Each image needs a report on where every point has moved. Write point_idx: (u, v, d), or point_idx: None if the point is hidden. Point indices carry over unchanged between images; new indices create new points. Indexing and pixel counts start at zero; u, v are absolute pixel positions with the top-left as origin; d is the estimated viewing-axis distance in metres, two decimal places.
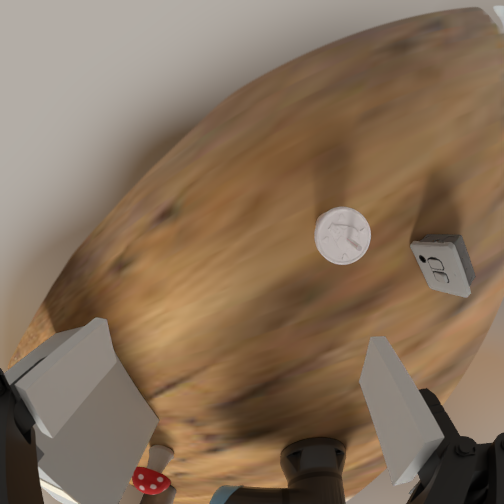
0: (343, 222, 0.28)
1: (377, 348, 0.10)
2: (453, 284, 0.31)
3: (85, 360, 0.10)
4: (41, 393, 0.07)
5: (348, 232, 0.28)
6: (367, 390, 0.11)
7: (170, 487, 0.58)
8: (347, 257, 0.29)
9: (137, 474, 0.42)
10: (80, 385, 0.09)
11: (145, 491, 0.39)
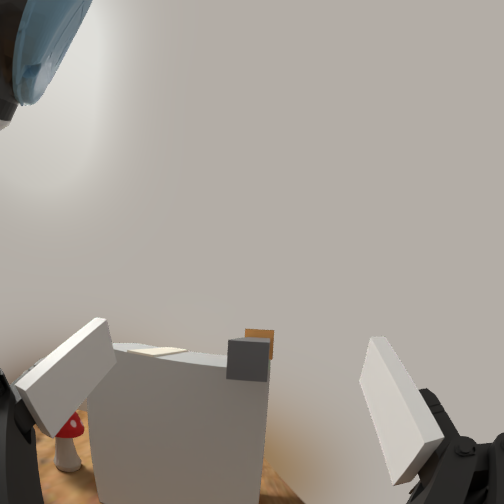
0: None
1: (377, 348, 0.10)
2: None
3: (85, 359, 0.10)
4: (41, 393, 0.07)
5: None
6: (367, 390, 0.11)
7: None
8: None
9: (77, 425, 0.35)
10: (80, 385, 0.09)
11: None
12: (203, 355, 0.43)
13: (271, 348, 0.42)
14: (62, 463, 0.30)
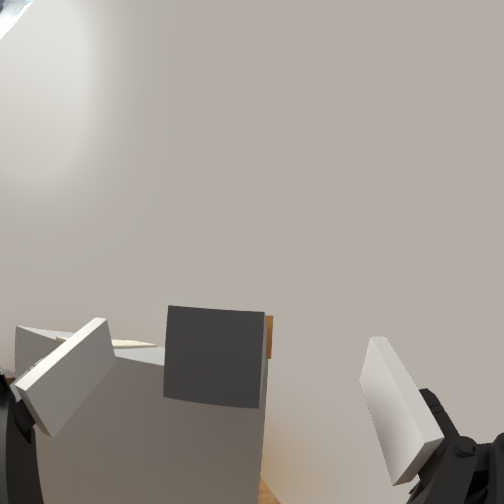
0: None
1: (377, 348, 0.10)
2: None
3: (85, 359, 0.10)
4: (41, 393, 0.07)
5: None
6: (367, 390, 0.11)
7: None
8: None
9: None
10: (80, 385, 0.09)
11: None
12: None
13: (269, 342, 0.29)
14: None
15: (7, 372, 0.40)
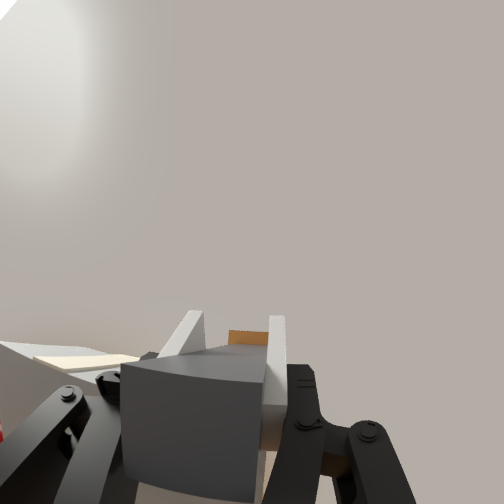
0: None
1: (270, 324, 0.13)
2: None
3: None
4: None
5: None
6: None
7: None
8: None
9: None
10: None
11: None
12: None
13: None
14: None
15: None
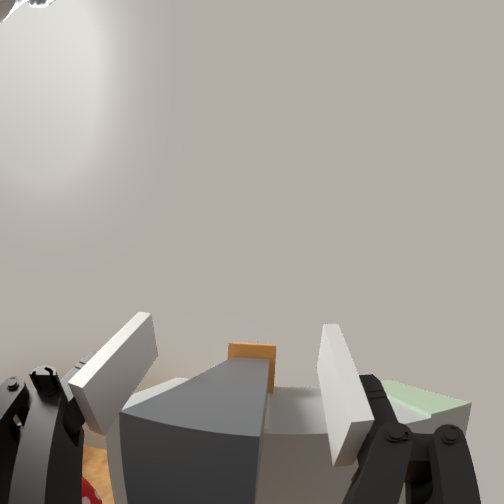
0: None
1: (327, 334, 0.12)
2: None
3: (134, 354, 0.11)
4: (96, 389, 0.08)
5: None
6: (321, 375, 0.12)
7: None
8: None
9: (92, 502, 0.17)
10: (129, 379, 0.11)
11: None
12: (309, 394, 0.24)
13: (271, 375, 0.25)
14: None
15: None
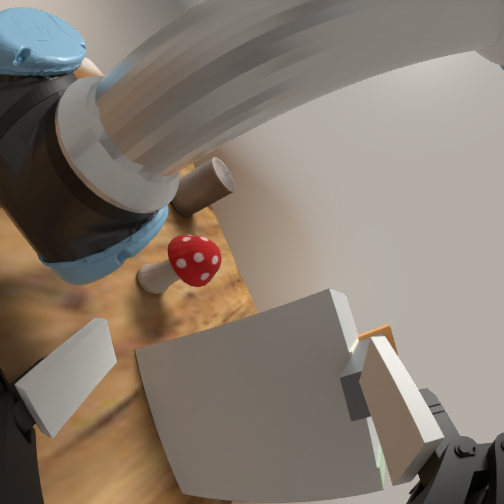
0: None
1: (377, 348, 0.10)
2: None
3: (85, 360, 0.10)
4: (41, 393, 0.07)
5: None
6: (367, 390, 0.11)
7: None
8: None
9: (206, 280, 0.43)
10: (80, 385, 0.09)
11: (214, 252, 0.42)
12: None
13: None
14: (147, 280, 0.44)
15: (229, 179, 0.65)
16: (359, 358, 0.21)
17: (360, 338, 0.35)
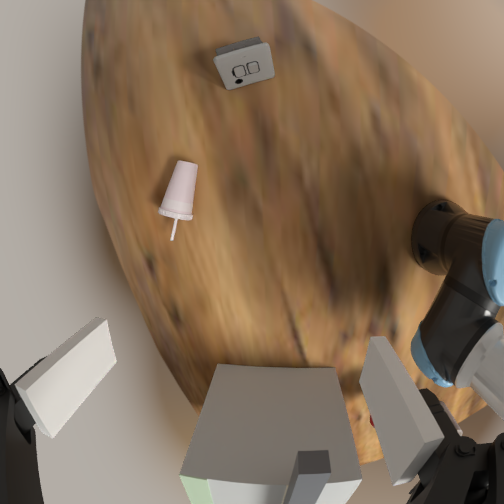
0: None
1: (377, 348, 0.10)
2: (258, 57, 0.36)
3: (85, 359, 0.10)
4: (41, 393, 0.07)
5: None
6: (367, 390, 0.11)
7: None
8: None
9: None
10: (80, 385, 0.09)
11: None
12: None
13: None
14: None
15: None
16: None
17: None
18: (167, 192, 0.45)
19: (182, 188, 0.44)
